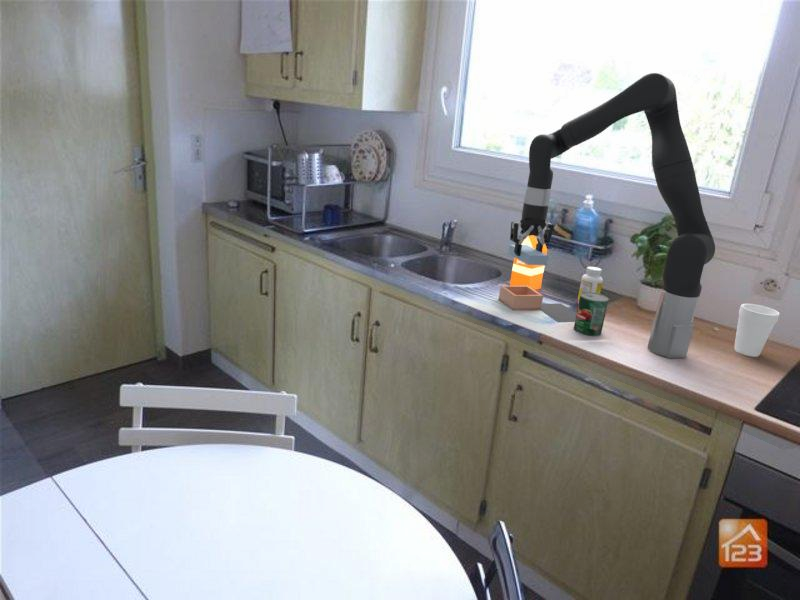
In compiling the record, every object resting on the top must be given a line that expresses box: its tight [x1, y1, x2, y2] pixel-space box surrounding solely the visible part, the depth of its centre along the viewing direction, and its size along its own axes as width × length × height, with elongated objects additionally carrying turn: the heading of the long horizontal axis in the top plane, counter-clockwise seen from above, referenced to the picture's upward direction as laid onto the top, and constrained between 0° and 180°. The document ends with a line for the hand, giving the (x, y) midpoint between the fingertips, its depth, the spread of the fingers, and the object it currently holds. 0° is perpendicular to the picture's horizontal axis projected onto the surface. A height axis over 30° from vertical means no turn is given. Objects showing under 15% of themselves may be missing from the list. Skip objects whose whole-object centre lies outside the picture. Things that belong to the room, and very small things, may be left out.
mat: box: [539, 302, 577, 323], centre depth 179 cm, size 16×11×1 cm
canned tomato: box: [573, 292, 610, 337], centre depth 164 cm, size 8×8×11 cm
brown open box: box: [498, 285, 544, 311], centre depth 182 cm, size 10×10×5 cm
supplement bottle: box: [577, 266, 604, 304], centre depth 188 cm, size 7×7×13 cm
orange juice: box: [509, 235, 548, 291], centre depth 200 cm, size 8×9×20 cm
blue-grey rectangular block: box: [508, 244, 549, 266], centre depth 178 cm, size 13×6×3 cm, turn 17°
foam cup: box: [733, 303, 780, 358], centre depth 159 cm, size 10×9×13 cm
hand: (527, 255), depth 178 cm, fingers closed on blue-grey rectangular block, 6 cm apart
